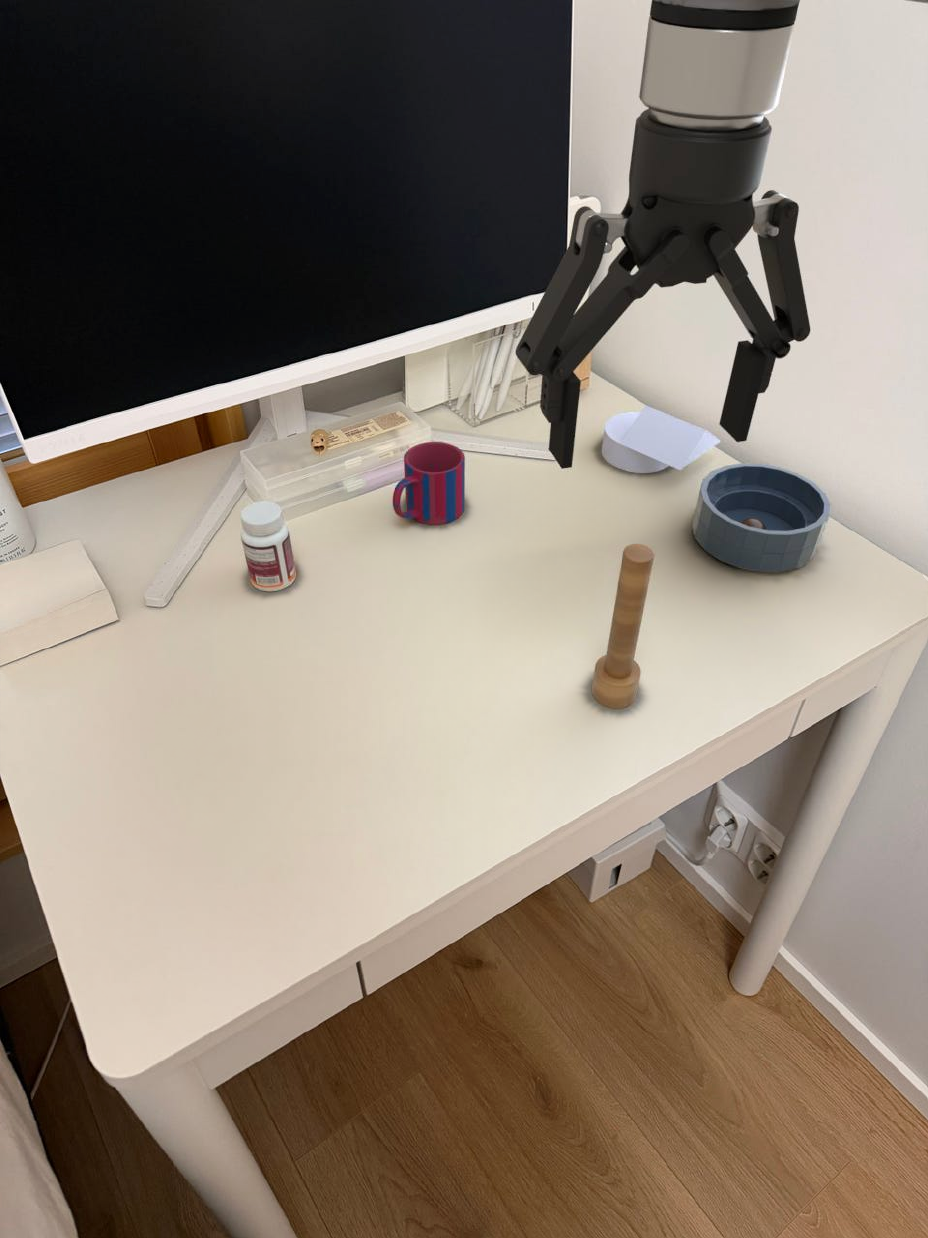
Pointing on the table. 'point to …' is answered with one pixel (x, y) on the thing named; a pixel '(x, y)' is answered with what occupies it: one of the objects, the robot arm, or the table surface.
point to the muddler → (624, 631)
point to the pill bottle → (267, 546)
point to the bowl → (760, 517)
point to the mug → (432, 483)
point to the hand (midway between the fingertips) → (648, 445)
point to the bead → (754, 523)
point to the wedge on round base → (653, 441)
